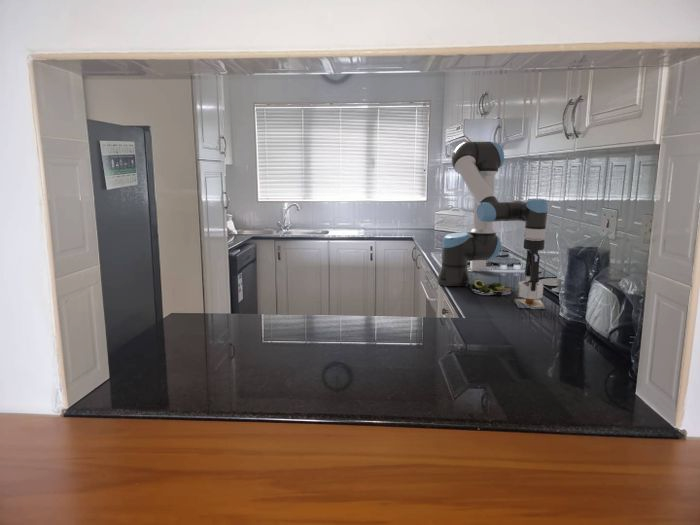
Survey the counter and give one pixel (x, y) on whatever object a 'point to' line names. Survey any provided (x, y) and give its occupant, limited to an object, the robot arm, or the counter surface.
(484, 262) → the medicine bottle
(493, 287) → the salad plate
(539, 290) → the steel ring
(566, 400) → the counter surface
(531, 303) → the keeper
